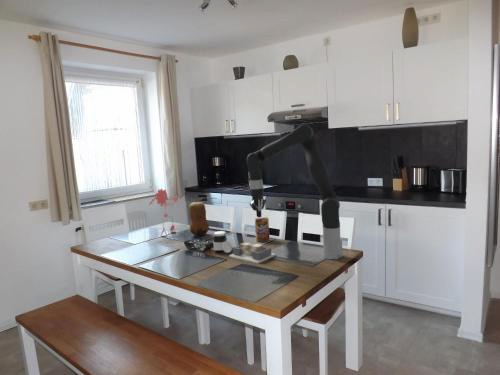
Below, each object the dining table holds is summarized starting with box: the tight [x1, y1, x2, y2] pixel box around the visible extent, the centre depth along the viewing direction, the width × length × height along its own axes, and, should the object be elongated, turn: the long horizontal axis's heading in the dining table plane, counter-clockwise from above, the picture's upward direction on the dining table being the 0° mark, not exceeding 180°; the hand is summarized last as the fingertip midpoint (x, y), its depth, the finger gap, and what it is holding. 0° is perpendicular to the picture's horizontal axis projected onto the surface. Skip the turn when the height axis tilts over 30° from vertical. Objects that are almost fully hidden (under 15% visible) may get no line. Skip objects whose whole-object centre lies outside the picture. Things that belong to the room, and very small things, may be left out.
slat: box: [239, 241, 264, 256], centre depth 206 cm, size 14×4×6 cm, turn 52°
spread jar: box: [212, 230, 233, 254], centre depth 219 cm, size 12×11×12 cm
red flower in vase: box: [148, 188, 179, 236], centre depth 270 cm, size 15×26×35 cm, turn 147°
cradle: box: [228, 244, 276, 265], centre depth 207 cm, size 22×16×5 cm
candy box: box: [254, 216, 270, 242], centre depth 236 cm, size 9×4×15 cm, turn 98°
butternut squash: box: [188, 201, 210, 237], centre depth 259 cm, size 14×13×25 cm
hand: (259, 217), depth 206 cm, fingers closed
